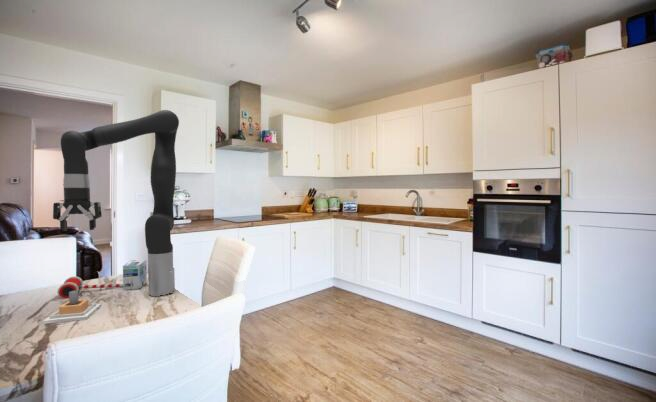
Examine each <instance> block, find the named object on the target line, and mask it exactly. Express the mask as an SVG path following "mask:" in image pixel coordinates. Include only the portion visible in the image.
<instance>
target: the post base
mask: <svg viewBox="0 0 656 402" xmlns="http://www.w3.org/2000/svg"><path fill="white" fill-rule="evenodd" d="M78 300H79V291H71V292H69V298H68V301H69V305H78ZM88 305H89V307H88V308H87V309H86V310H85V311H84V312H82V313H73V314H62V315H59V309H58V310H56V311H55V312H54V313H52V314H51V315H50V316H48V317H47V318H45V319H44V320H42V325H47V324H55V323H65V322H67V323H68V322H75V321H85V320H88V319H89V318H90V317H92V315H94V314H95V313H96V312H97V311H98V310H100V308H101V307H102V303H97V302H94V303H93V302H91V303H88Z"/></svg>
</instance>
